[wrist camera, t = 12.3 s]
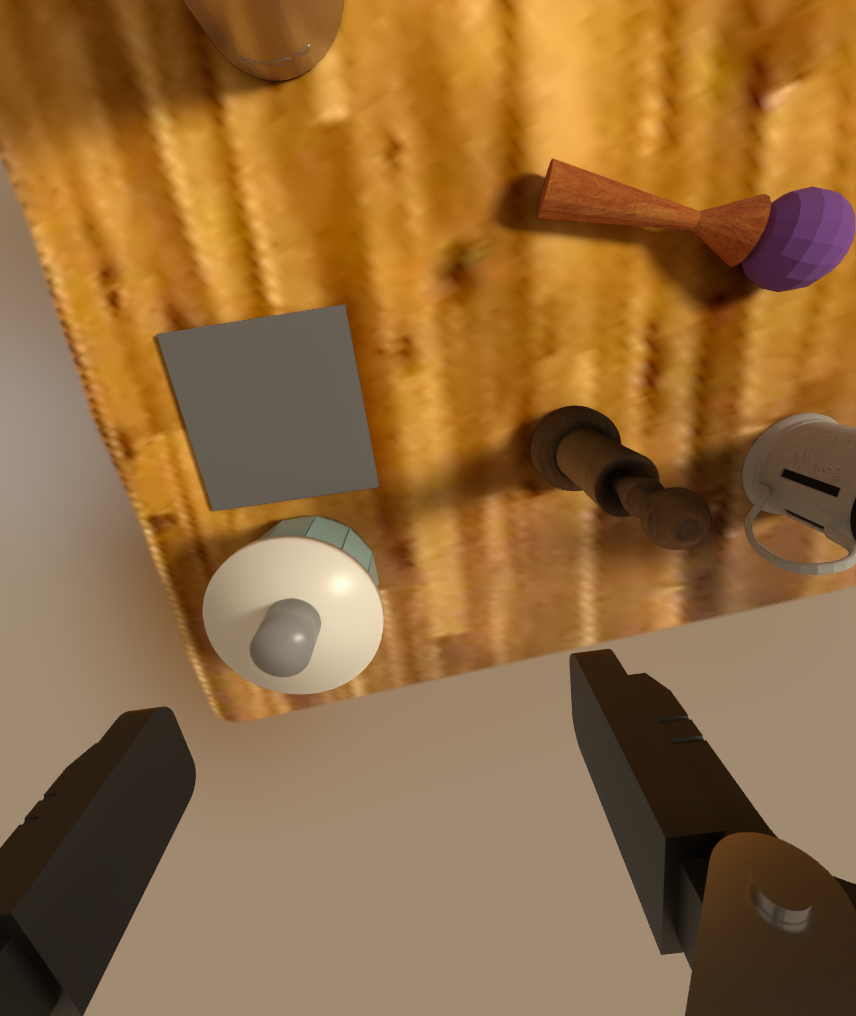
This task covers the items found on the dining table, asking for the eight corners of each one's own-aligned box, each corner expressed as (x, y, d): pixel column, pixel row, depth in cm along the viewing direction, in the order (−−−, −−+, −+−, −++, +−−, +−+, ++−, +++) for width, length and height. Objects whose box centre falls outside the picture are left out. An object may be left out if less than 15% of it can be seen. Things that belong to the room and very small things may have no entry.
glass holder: (850, 496, 40) (1082, 580, 26) (685, 545, 42) (822, 651, 28) (847, 397, 37) (1105, 432, 23) (670, 454, 39) (814, 520, 25)
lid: (184, 549, 33) (150, 580, 29) (365, 522, 33) (357, 549, 28) (237, 695, 38) (214, 740, 33) (397, 673, 37) (394, 715, 33)
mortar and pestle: (552, 498, 40) (652, 615, 23) (515, 435, 38) (593, 511, 21) (623, 456, 39) (783, 546, 22) (588, 388, 37) (733, 430, 20)
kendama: (567, 108, 28) (897, 178, 28) (544, 166, 34) (816, 224, 34) (544, 215, 29) (863, 282, 29) (525, 254, 34) (790, 309, 35)
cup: (238, 523, 40) (202, 559, 33) (365, 504, 40) (354, 537, 33) (271, 631, 44) (244, 683, 37) (387, 615, 43) (382, 665, 37)
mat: (159, 334, 35) (156, 334, 34) (345, 305, 34) (344, 304, 34) (215, 509, 40) (213, 511, 39) (379, 485, 39) (378, 487, 39)
